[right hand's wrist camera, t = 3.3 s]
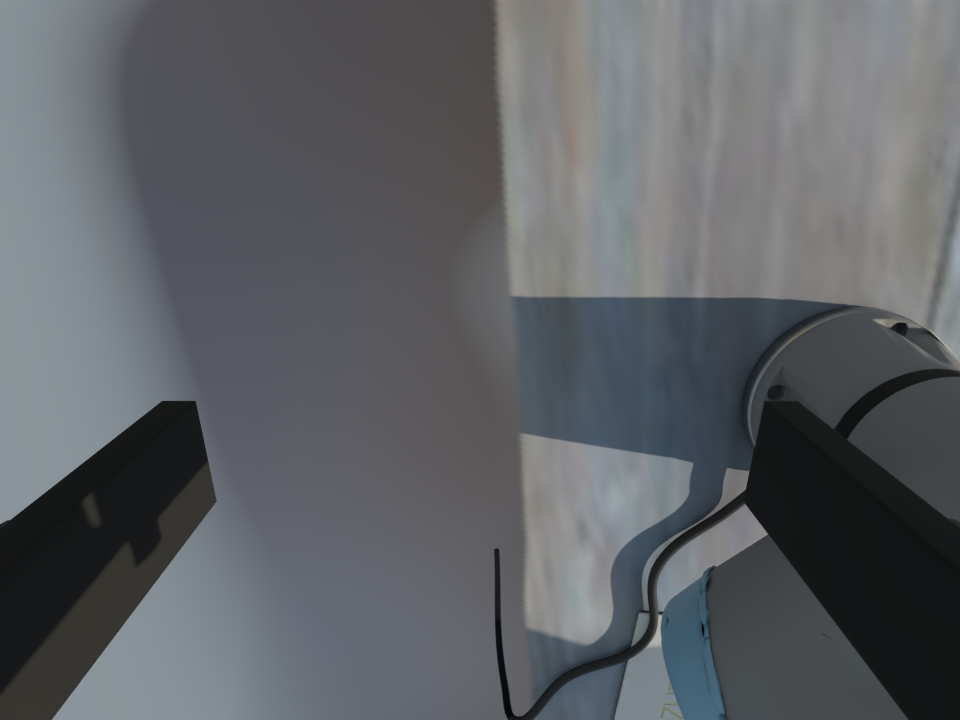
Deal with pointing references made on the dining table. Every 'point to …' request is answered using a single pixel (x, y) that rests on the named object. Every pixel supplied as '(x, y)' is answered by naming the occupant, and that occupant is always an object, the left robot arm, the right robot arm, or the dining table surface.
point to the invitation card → (647, 681)
